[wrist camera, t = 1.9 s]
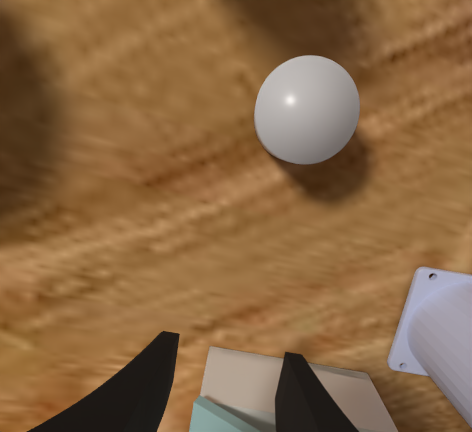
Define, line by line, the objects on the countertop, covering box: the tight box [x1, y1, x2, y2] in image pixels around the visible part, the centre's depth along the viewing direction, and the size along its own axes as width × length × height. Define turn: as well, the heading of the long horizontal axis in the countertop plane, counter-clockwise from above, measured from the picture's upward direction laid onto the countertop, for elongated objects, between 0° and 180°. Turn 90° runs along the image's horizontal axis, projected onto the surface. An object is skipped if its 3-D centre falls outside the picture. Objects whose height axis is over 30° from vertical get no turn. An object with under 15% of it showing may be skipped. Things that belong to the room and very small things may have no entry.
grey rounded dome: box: [254, 55, 360, 164], centre depth 17 cm, size 5×5×4 cm
